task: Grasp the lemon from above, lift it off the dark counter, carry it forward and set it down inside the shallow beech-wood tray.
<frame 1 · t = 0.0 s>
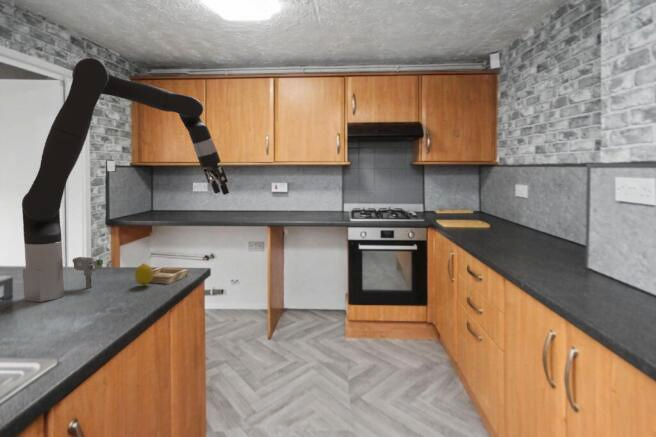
hand: (221, 193, 153), 31 cm above the worktop, tool tilted 20°, fingers open, 8 cm apart
mechanical component: (88, 288, 133), on the worktop
tray: (164, 278, 147), on the worktop
lemon: (144, 286, 136), on the worktop
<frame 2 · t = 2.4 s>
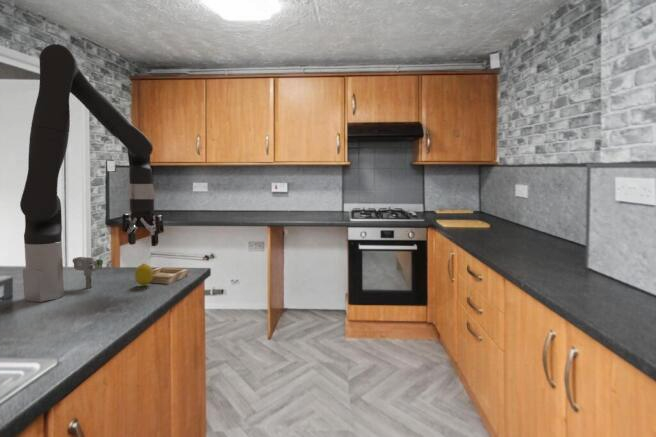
hand: (143, 245, 135), 14 cm above the worktop, tool pointing down, fingers open, 8 cm apart
nothing on the worktop moved.
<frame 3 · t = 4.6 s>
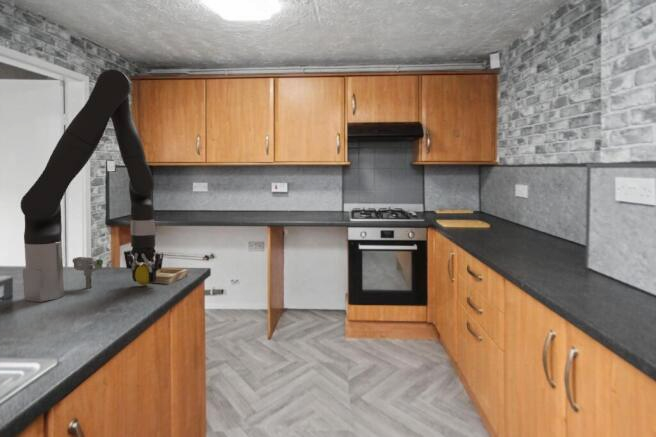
hand: (144, 281, 136), 2 cm above the worktop, tool pointing down, fingers closed on lemon, 5 cm apart
lemon: (144, 286, 136), on the worktop, touching gripper
everything else where it was.
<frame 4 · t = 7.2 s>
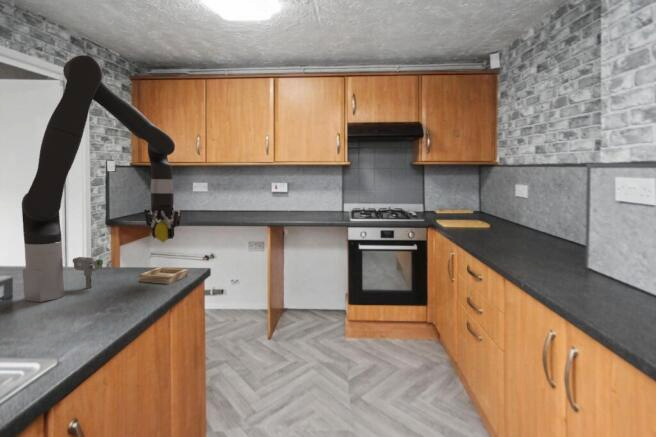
hand: (163, 237, 145), 15 cm above the worktop, tool pointing down, fingers closed on lemon, 5 cm apart
lemon: (163, 242, 145), point 13 cm above the worktop, touching gripper
everything else where it was.
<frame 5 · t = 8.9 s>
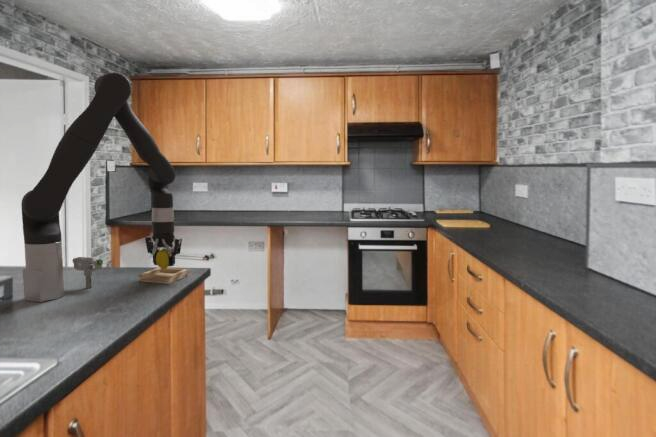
hand: (164, 265, 146), 5 cm above the worktop, tool pointing down, fingers closed on lemon, 5 cm apart
lemon: (164, 270, 147), point 3 cm above the worktop, touching gripper
everything else where it was.
when the fingers open (4 cm above the worktop, at t = 10.1 s): lemon drops 1 cm, resting on tray.
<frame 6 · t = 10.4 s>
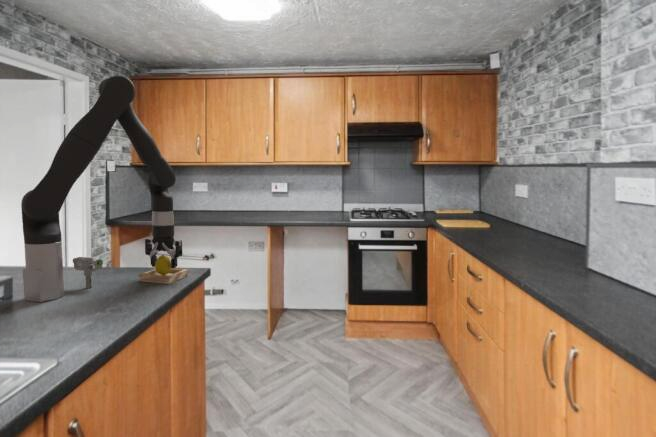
hand: (164, 267, 147), 4 cm above the worktop, tool pointing down, fingers open, 7 cm apart
lemon: (163, 276, 147), point 1 cm above the worktop, touching tray
everything else where it was.
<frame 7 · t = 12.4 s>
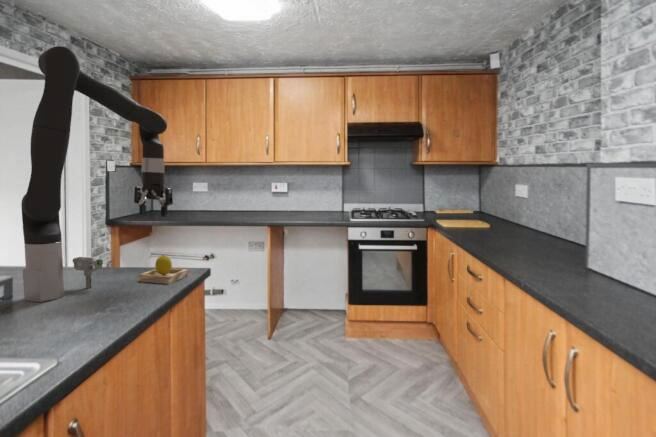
hand: (153, 216, 144), 23 cm above the worktop, tool pointing down, fingers open, 8 cm apart
nothing on the worktop moved.
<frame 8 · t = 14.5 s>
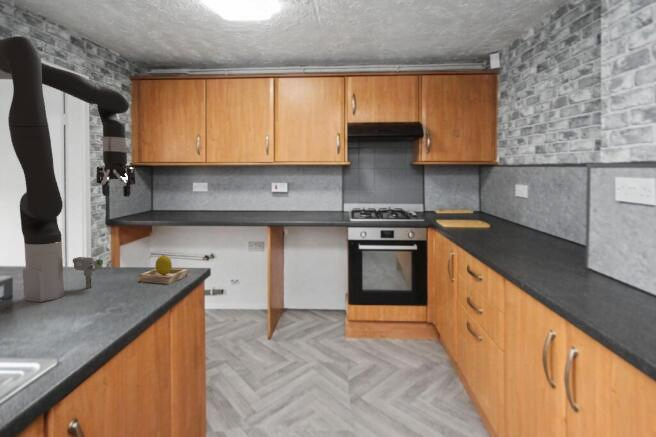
hand: (116, 196, 143), 30 cm above the worktop, tool pointing down, fingers open, 8 cm apart
nothing on the worktop moved.
at the end: lemon inside the target area on the tray (0.1 cm from its centre), point 0.6 cm above the tray's base; the gripper is holding nothing; lemon moved 10.9 cm from its start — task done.
